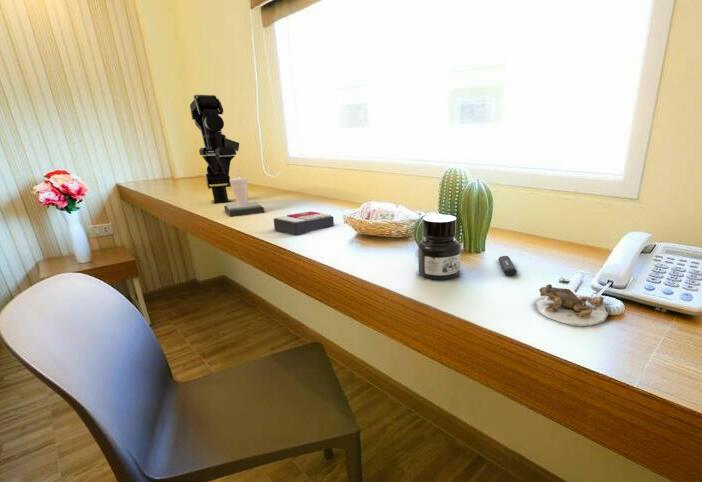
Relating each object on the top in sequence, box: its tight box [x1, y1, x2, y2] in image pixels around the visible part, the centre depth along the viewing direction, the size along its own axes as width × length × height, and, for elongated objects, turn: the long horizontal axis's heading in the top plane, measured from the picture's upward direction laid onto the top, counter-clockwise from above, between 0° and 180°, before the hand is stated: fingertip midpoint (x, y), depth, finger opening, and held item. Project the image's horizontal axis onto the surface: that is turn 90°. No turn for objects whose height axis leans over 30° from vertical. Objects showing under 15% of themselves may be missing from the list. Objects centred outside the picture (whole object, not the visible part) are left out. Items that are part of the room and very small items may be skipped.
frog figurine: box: [535, 284, 609, 327], centre depth 66 cm, size 12×12×4 cm
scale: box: [223, 200, 265, 217], centre depth 149 cm, size 12×12×3 cm
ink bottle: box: [417, 214, 462, 281], centre depth 82 cm, size 10×9×12 cm
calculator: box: [273, 211, 335, 236], centre depth 123 cm, size 11×4×15 cm
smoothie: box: [230, 166, 249, 206], centre depth 146 cm, size 6×6×14 cm
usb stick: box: [498, 255, 518, 276], centre depth 86 cm, size 10×3×2 cm, turn 177°
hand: (221, 174), depth 152 cm, fingers open, 9 cm apart
